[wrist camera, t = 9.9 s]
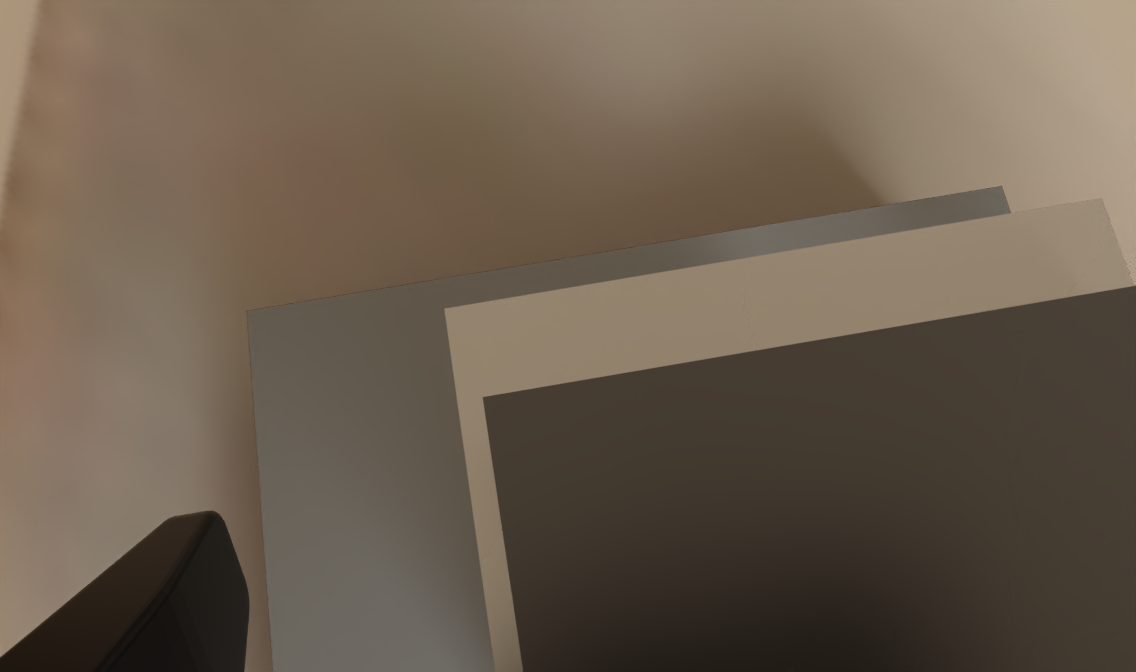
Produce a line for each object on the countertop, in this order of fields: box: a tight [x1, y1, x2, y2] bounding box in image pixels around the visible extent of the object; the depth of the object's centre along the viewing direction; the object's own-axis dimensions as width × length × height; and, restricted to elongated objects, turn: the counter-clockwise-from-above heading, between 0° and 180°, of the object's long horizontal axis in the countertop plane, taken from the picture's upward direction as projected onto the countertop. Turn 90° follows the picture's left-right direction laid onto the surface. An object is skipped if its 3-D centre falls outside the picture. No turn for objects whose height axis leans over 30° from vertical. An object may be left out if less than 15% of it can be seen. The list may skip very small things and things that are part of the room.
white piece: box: [444, 198, 1136, 672], centre depth 9 cm, size 4×4×9 cm
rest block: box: [247, 186, 1011, 672], centre depth 15 cm, size 11×11×3 cm
